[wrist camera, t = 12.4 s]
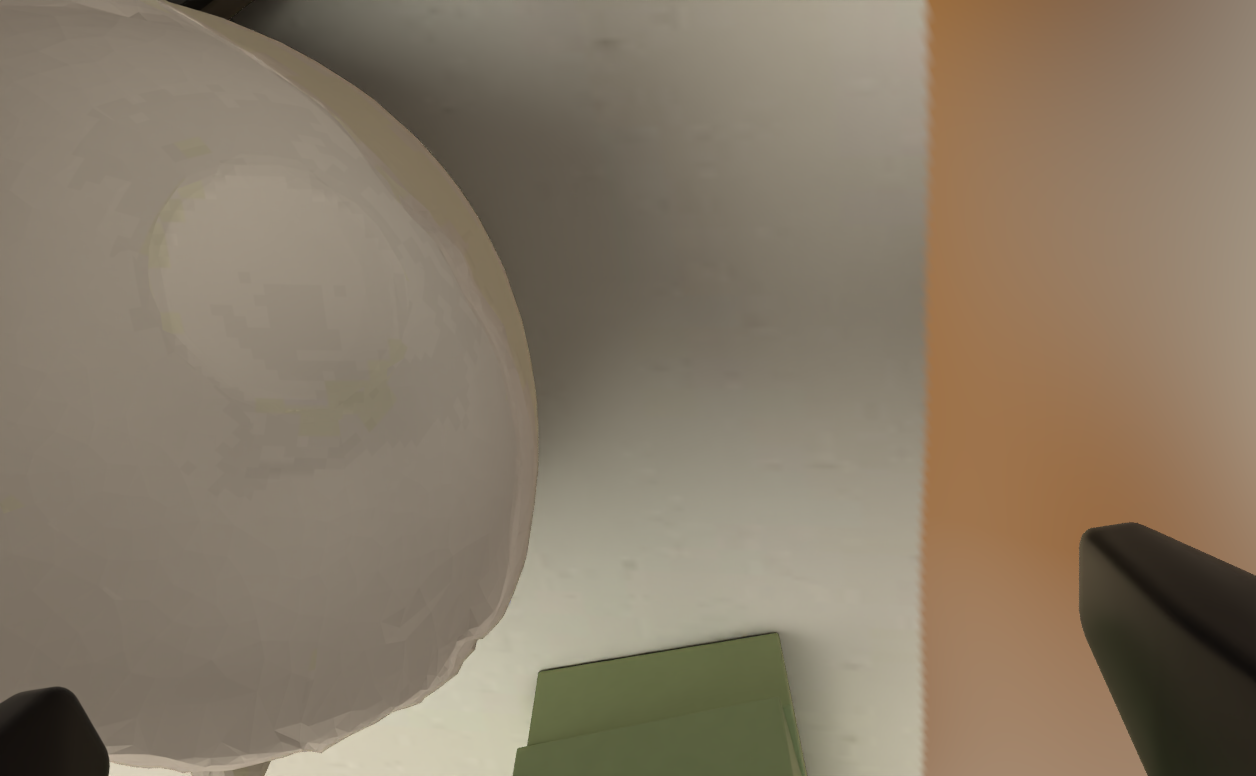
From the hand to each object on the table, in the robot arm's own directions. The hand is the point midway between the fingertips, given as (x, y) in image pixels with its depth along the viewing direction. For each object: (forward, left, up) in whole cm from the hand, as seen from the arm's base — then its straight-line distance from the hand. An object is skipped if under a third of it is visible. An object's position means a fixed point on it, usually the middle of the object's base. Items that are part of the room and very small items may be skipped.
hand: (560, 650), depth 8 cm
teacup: (-7, -1, -13) cm, 15 cm away
